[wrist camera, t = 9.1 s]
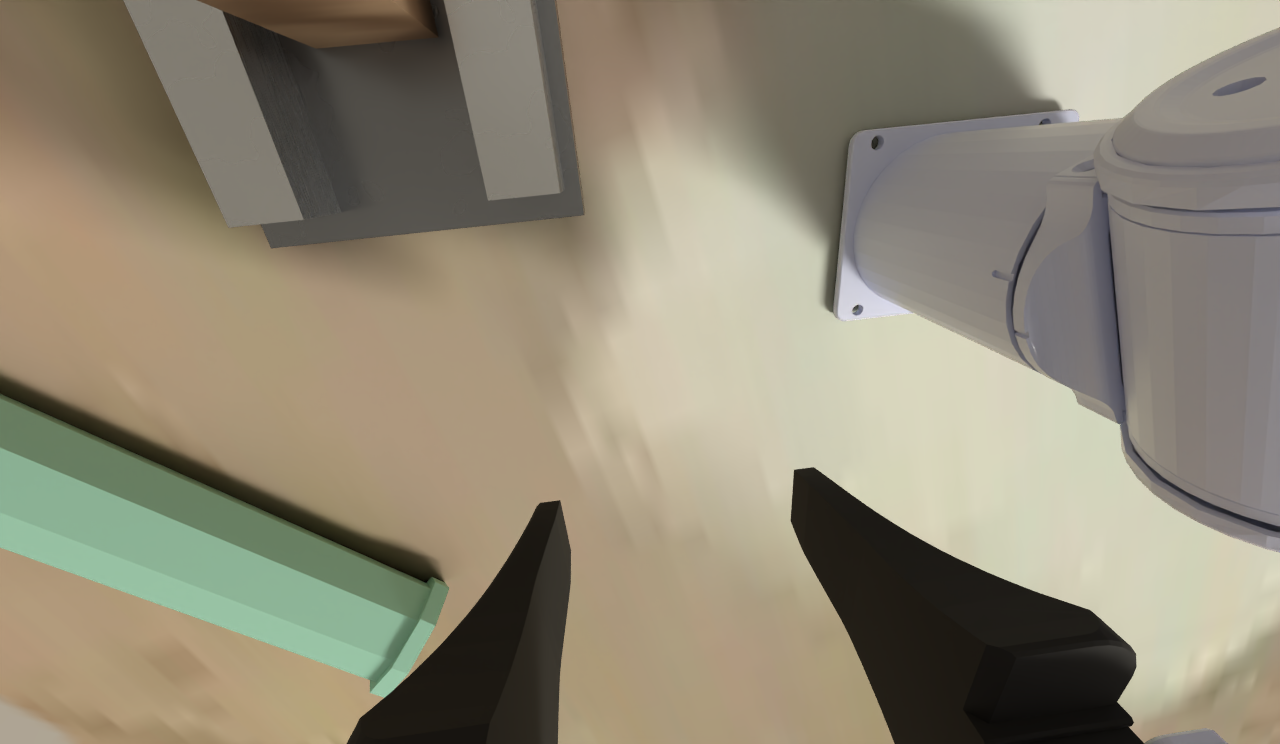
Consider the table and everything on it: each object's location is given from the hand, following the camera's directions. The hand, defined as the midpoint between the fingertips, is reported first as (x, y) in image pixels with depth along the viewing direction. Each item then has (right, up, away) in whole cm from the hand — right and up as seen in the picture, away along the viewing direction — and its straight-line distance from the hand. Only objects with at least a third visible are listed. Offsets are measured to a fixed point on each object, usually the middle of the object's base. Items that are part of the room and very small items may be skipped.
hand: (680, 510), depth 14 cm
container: (-23, -2, +10) cm, 25 cm away
